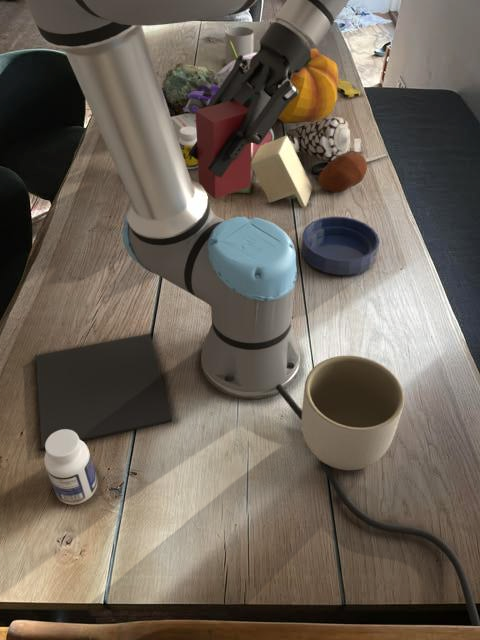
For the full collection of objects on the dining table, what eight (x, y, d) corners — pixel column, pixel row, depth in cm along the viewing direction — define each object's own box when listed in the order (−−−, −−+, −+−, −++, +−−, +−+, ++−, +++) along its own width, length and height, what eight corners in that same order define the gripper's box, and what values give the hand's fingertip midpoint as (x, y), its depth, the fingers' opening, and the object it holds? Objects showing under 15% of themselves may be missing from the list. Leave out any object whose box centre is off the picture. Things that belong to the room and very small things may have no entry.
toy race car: (195, 88, 153) (189, 67, 147) (251, 95, 149) (247, 73, 143) (181, 116, 149) (175, 95, 143) (238, 123, 145) (234, 102, 139)
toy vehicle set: (361, 151, 144) (359, 155, 146) (361, 137, 145) (360, 141, 147) (310, 149, 145) (309, 153, 146) (310, 135, 146) (310, 139, 147)
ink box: (228, 119, 147) (184, 131, 142) (229, 138, 150) (185, 150, 146) (212, 105, 152) (168, 117, 148) (213, 124, 155) (170, 136, 151)
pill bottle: (79, 462, 82) (65, 416, 75) (106, 484, 79) (94, 439, 73) (46, 489, 79) (29, 444, 72) (73, 513, 76) (58, 469, 70)
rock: (216, 85, 151) (206, 122, 157) (231, 63, 163) (221, 98, 170) (161, 64, 150) (153, 101, 157) (181, 43, 163) (173, 79, 169)
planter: (317, 491, 79) (326, 440, 71) (286, 417, 87) (291, 365, 80) (405, 469, 81) (422, 418, 74) (366, 399, 90) (378, 347, 82)
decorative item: (346, 98, 168) (362, 95, 169) (346, 95, 167) (362, 92, 169) (327, 82, 175) (343, 80, 177) (328, 79, 175) (343, 77, 176)
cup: (221, 63, 186) (220, 29, 179) (245, 59, 189) (246, 25, 182) (232, 73, 181) (232, 38, 174) (257, 69, 183) (258, 34, 176)
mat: (172, 421, 87) (172, 418, 86) (42, 450, 83) (41, 448, 83) (150, 336, 99) (150, 333, 99) (36, 358, 96) (35, 355, 95)
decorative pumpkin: (339, 130, 149) (369, 85, 137) (261, 139, 140) (286, 91, 127) (306, 67, 155) (332, 18, 142) (229, 71, 146) (250, 19, 133)
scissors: (376, 149, 146) (306, 169, 139) (377, 146, 146) (307, 166, 139) (394, 161, 142) (323, 183, 135) (395, 158, 141) (324, 179, 134)
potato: (312, 166, 128) (342, 183, 125) (347, 134, 131) (378, 150, 128) (314, 191, 135) (343, 208, 131) (347, 160, 138) (376, 176, 134)
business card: (237, 69, 143) (238, 70, 144) (216, 74, 144) (217, 75, 144) (241, 95, 139) (242, 96, 139) (220, 100, 140) (220, 101, 140)
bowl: (388, 270, 112) (392, 253, 109) (317, 284, 109) (319, 266, 107) (357, 228, 122) (359, 211, 119) (290, 240, 119) (292, 222, 116)
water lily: (246, 33, 162) (258, 67, 165) (196, 56, 160) (209, 90, 163) (265, 25, 149) (278, 62, 152) (211, 50, 146) (225, 87, 150)
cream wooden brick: (246, 165, 124) (275, 217, 130) (278, 153, 120) (306, 207, 127) (256, 146, 130) (283, 197, 136) (287, 134, 126) (313, 186, 133)
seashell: (297, 132, 131) (315, 175, 134) (349, 106, 132) (365, 149, 136) (276, 135, 147) (292, 173, 150) (323, 112, 148) (338, 150, 151)
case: (198, 185, 101) (195, 110, 92) (233, 173, 104) (233, 99, 95) (215, 199, 98) (212, 122, 89) (250, 186, 101) (252, 111, 92)
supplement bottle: (176, 166, 140) (173, 132, 134) (186, 157, 143) (184, 123, 137) (194, 171, 138) (192, 136, 133) (204, 162, 141) (203, 128, 136)
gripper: (344, 69, 89) (250, 200, 94) (271, 34, 100) (190, 153, 105) (320, 38, 84) (221, 179, 88) (244, 5, 94) (160, 132, 99)
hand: (204, 165), depth 96 cm, fingers closed on case, 5 cm apart
